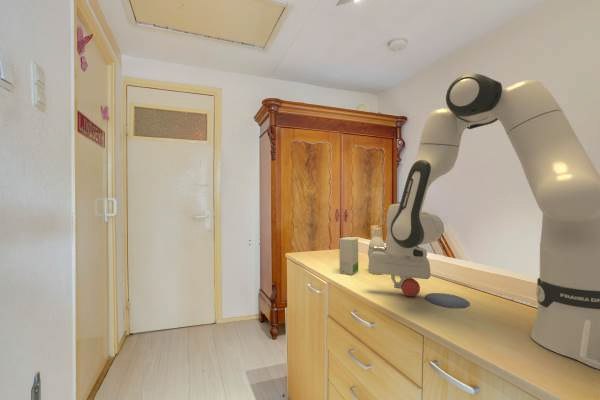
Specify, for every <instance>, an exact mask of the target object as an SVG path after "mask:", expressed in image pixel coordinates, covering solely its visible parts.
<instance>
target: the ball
mask: <svg viewBox="0 0 600 400" xmlns="http://www.w3.org/2000/svg"><path fill="white" fill-rule="evenodd" d="M400 290H401V292H403V294H404V295H405V296H408V297H409V298H410V297H411V298H412V297H416V296H418V295H419V293H420V291H421V286H420V283H419V282H418V281H417V280H415V278H412V279H411V278H408V279H405V280H404V282H403V283H402V284H401V289H400Z"/></svg>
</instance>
